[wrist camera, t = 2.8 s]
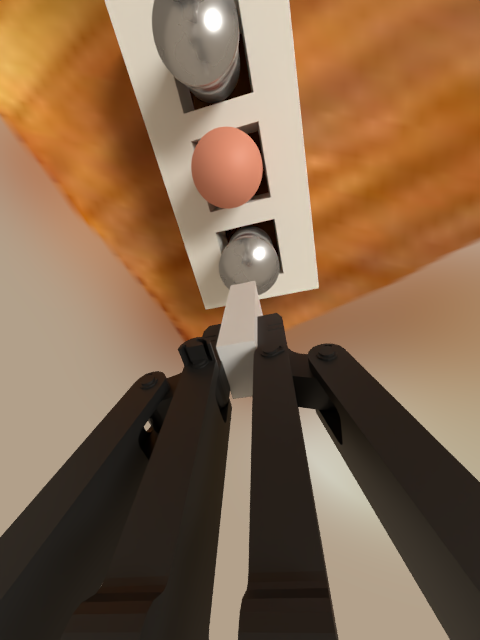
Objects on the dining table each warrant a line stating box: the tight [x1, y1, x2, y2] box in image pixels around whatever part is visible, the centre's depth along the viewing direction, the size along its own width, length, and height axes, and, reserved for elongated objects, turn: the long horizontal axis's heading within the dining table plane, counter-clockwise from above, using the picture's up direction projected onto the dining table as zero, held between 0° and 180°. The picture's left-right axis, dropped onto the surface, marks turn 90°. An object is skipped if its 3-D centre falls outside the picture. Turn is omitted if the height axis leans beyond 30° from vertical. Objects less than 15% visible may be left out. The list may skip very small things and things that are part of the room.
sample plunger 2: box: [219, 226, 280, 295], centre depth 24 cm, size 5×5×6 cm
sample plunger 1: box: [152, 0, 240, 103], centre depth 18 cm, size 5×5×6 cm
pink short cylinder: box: [191, 127, 263, 209], centre depth 21 cm, size 5×5×6 cm
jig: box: [105, 0, 319, 309], centre depth 25 cm, size 24×12×6 cm, turn 13°
